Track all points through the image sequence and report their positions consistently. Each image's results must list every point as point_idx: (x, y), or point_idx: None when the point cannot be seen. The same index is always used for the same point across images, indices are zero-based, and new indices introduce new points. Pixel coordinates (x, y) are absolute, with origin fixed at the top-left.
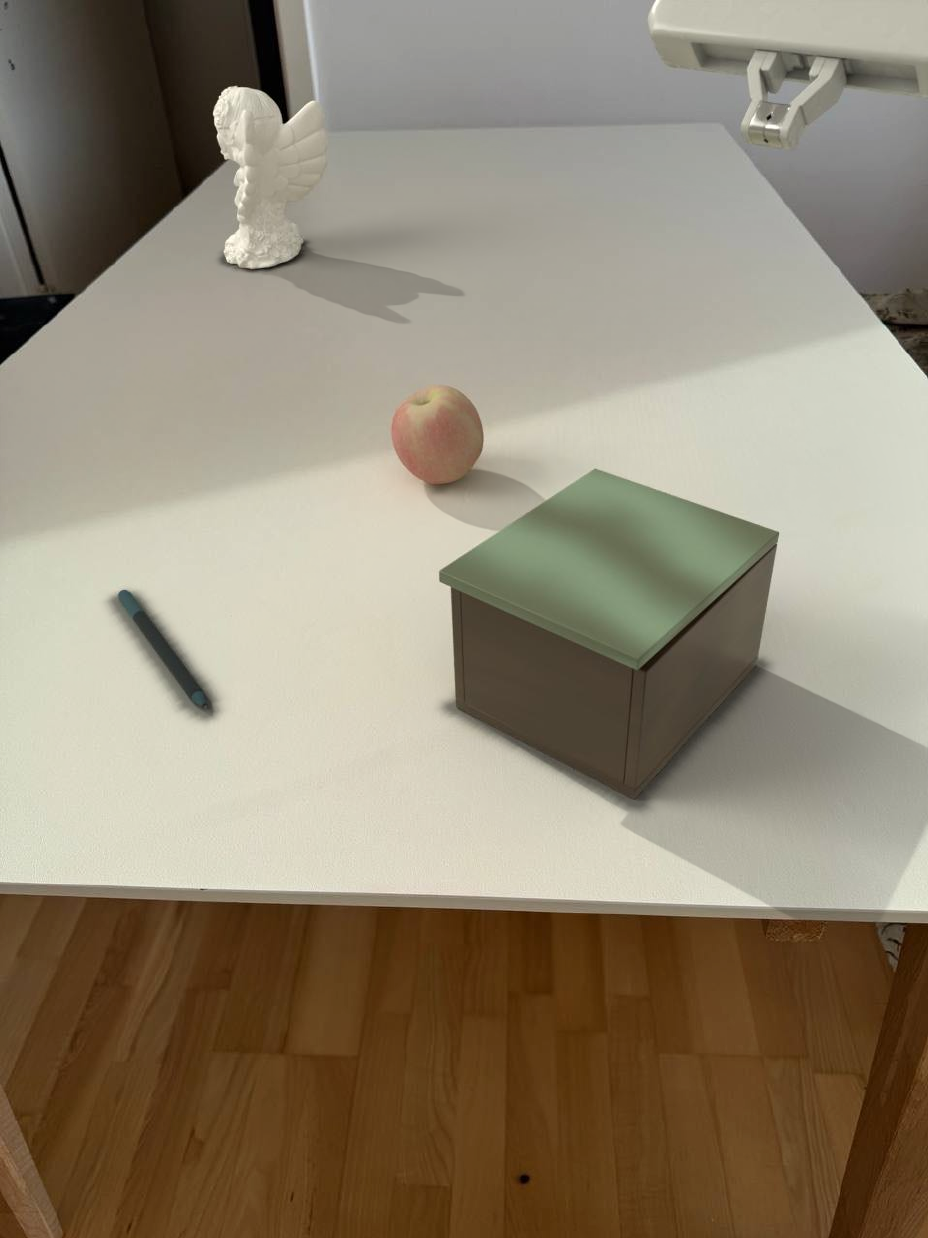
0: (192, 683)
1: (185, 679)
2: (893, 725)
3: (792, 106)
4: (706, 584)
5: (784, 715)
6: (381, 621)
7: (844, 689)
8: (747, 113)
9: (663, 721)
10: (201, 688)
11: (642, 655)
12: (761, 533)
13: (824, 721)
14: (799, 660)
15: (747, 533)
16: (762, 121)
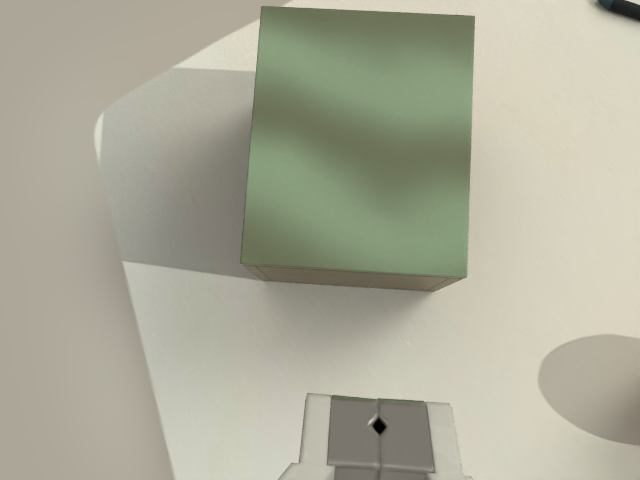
0: (623, 3)
1: (632, 4)
2: (144, 270)
3: (320, 457)
4: (261, 133)
5: (220, 235)
6: (564, 157)
7: (189, 291)
8: (449, 429)
9: None
10: (615, 7)
11: (261, 12)
12: (254, 249)
13: (191, 245)
14: (234, 307)
15: (266, 241)
16: (392, 413)
